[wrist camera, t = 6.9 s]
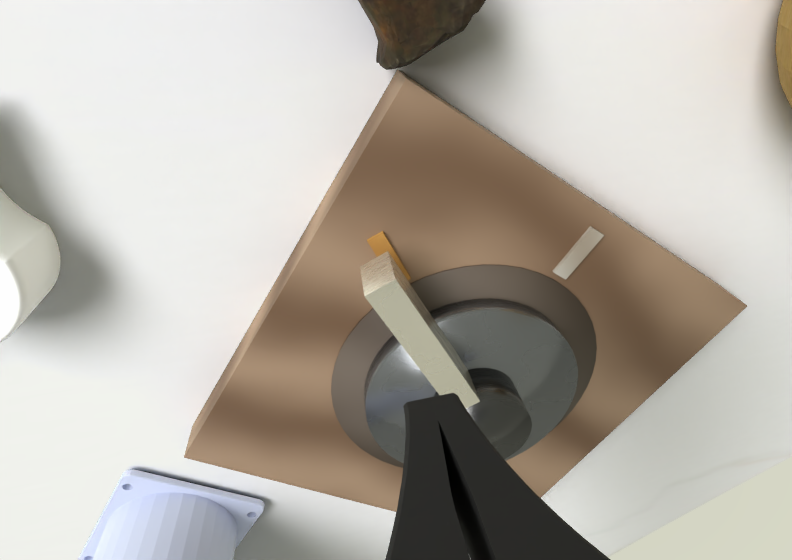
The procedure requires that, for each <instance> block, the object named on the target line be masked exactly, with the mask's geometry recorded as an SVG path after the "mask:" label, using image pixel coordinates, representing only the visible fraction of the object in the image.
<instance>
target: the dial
mask: <svg viewBox="0 0 792 560" xmlns="http://www.w3.org/2000/svg"><path fill="white" fill-rule="evenodd" d="M360 271H361V277H362V283H363V290H364V296H365V298H366V299H367V300H368V302H369V303H370V304H371V306H372V307H373V308H374V310H375V311H376V312H377V314H378V315H379V316H380V317H381V319H382V320H383V321H384V323H385V324H386V325H387V327H388V328H389V329H390V331H391V332H392V333H393V336H392V337H391V338H390V339H389V340H388V341H387V342H386V343H385V344H384V345H383V347H382V348H381V349H380V350H379V352H378V353H377V355H376V356H375V358H374V360H373V362H372V363H371V366H370V368H369V371H368V373H367V376H366V381H365V385H364V401H365V410H366V418H367V423H368V426H369V430H370V432H371V434H372V436H373V438H374V439H375V441H376V442H377V443H378V445H379V446H380V447H381V448H382V449H383V450H384V451H385V452H386V453H387V454H389V455H390V456H392V457H393V458H395V459H396V460H398V461H400V462H402V463H404V454H405V435H406V428H405V414H404V408H403V406H404V405H405V404H406V403H407V402H409V401H414V400H419V399H424V398H429V397H434V396H439V395H444V394H449V393H455V394H456V395H458V397H459V398H460V400H461V402H462V403H463V405H464V407H465V408H466V410H467V411H468V413H469V414H470V416H471V417H472V419H473V420H474V422H475V423H476V424H477V426H478V427H479V428H480V430H481V431H482V432H483V434H484V435H485V436H486V438H487V439H488V440H489V441H490V443H491V444H492V445H493V446H494V448H495V449H496V450H497V451H498V452H499V454H500V455H501V456H502V457H503V458H504V460H505V461H506V460H508V459H510V458H513V457H515V456H517V455H519V454H520V453H522V452H524V451H526V450H527V449H529V448H530V447H532V446H534V445H535V444H536V443H538V442H539V441H540V440H541V439H543V438H544V437H545V436H546V435H547V434H548V433H549V432H550V431H551V430H553V429H554V427H555V426H556V425H557V424H558V423H559V422H560V420H561V419H562V418H563V416H564V415H565V413H566V412H567V410H568V408H569V406H570V404H571V402H572V400H573V398H574V395H575V392H576V388H577V382H578V367H577V361H576V358H575V355H574V352H573V350H572V348H571V347H570V345H569V343H568V342H567V340H566V339H565V338H564V336H563V335H562V333H561V332H560V330H559V329H558V328H557V327H556V326H555V324H554V323H553V322H552V321H551V320H550V319H549V318H547V317H546V316H545V315H544V314H542V313H541V312H539V311H537V310H535V309H534V308H532V307H529V306H527V305H524V304H521V303H518V302H514V301H509V300H503V299H493V298H490V299H472V300H464V301H459V302H455V303H451V304H447V305H444V306H442V307H439V308H436V309H433V310H431V311H428V310H427V308H426V307H425V305H424V304H423V302H422V301H421V299H420V298H419V296H418V295H417V293H416V292H415V290H414V289H413V288H412V286H411V285H410V283H409V282H408V280H407V279H406V277H405V276H404V274H403V273H402V271H401V270H400V268H399V267H398V265H397V264H396V262H395V261H394V259H393V258H392V256H391V255H390V254H389V252H388V251H387V252H385V253H383V254H382V255H380V256H378V257H376V258H375V259H373V260H371V261H370V262H368V263H366V264H364V265H363V266H361V267H360Z"/></svg>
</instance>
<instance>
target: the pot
mask: <svg viewBox="0 0 792 560" xmlns="http://www.w3.org/2000/svg"><path fill="white" fill-rule="evenodd" d="M775 51H776V58H777V65H778V72H779V79H780V84H781V86H782V89H783V91H784V93H785V95H786V97H787V99H788V102H789V104H790V106H791V108H792V0H783V2H782V6H781V10H780V13H779V17H778V25H777V36H776V48H775Z"/></svg>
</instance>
